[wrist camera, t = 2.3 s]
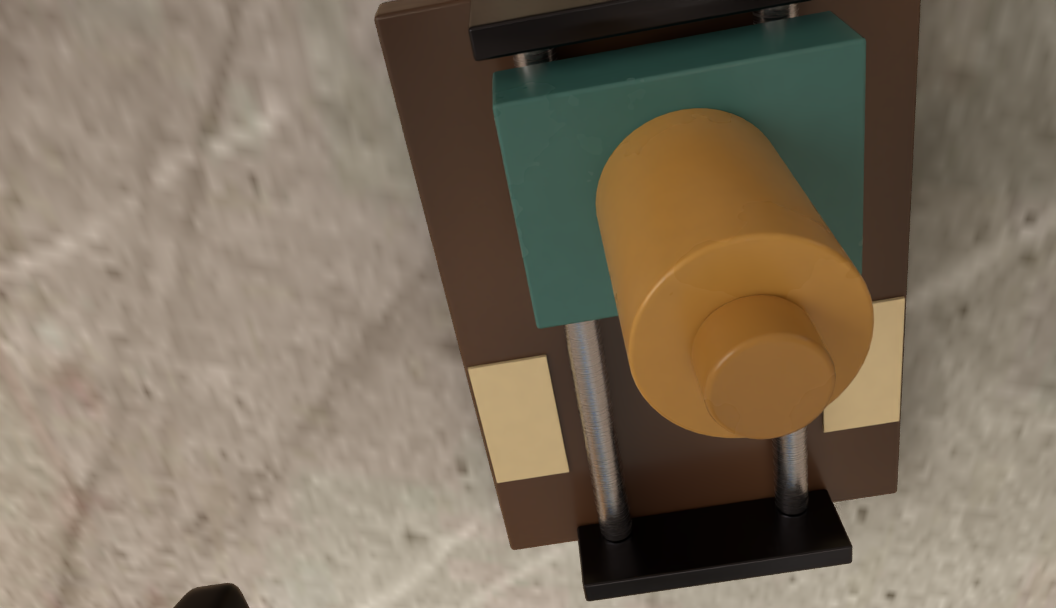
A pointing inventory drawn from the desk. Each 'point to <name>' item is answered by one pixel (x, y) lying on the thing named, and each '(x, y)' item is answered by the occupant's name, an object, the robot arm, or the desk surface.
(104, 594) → the desk surface
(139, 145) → the desk surface
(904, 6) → the rail
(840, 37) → the teal slider with knob
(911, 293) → the desk surface
